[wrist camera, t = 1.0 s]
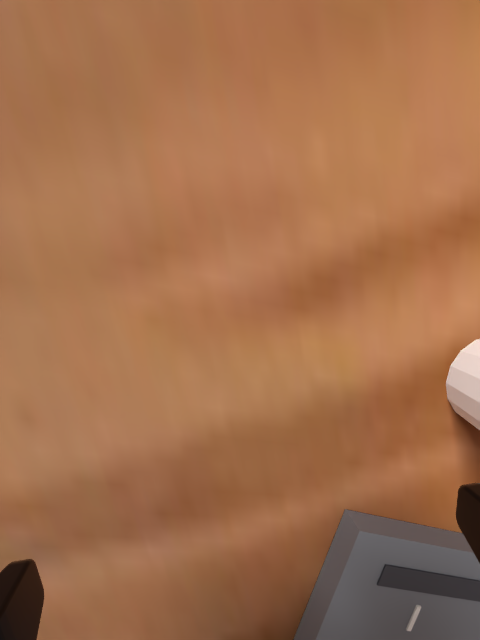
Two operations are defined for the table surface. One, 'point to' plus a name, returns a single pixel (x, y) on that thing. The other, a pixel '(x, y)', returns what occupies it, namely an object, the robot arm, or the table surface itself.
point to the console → (394, 584)
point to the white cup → (466, 384)
